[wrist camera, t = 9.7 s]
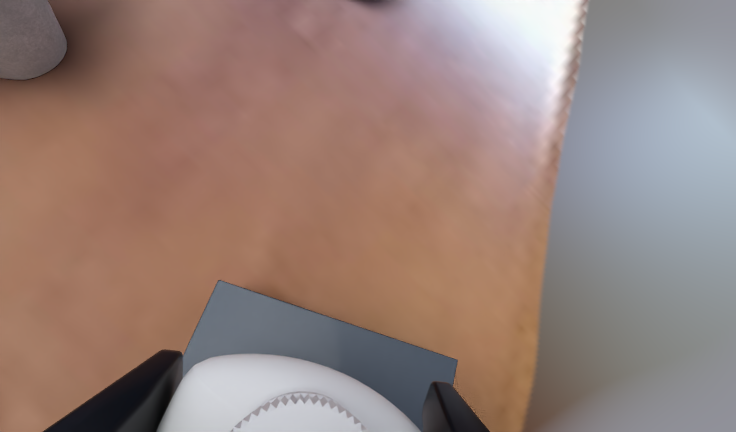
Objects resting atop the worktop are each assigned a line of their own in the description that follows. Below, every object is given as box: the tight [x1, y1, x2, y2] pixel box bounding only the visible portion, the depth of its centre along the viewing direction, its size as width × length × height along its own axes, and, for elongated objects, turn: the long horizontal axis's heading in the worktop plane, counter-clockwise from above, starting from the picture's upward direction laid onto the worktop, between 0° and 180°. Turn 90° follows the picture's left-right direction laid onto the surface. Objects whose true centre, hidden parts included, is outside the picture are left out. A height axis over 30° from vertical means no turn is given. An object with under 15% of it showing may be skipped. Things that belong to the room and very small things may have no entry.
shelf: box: [183, 280, 457, 432], centre depth 19 cm, size 8×12×4 cm, turn 73°
